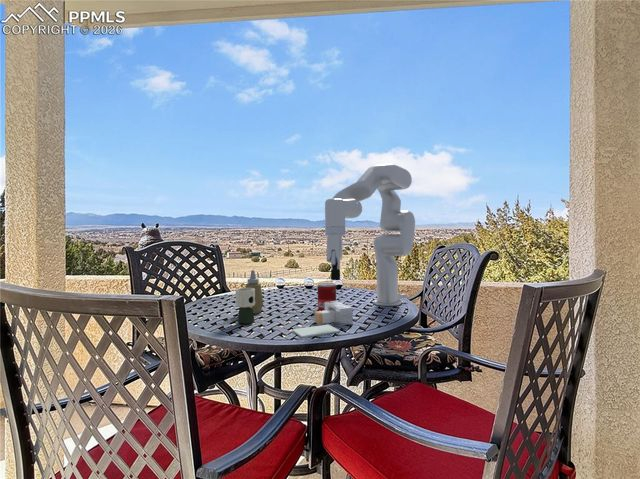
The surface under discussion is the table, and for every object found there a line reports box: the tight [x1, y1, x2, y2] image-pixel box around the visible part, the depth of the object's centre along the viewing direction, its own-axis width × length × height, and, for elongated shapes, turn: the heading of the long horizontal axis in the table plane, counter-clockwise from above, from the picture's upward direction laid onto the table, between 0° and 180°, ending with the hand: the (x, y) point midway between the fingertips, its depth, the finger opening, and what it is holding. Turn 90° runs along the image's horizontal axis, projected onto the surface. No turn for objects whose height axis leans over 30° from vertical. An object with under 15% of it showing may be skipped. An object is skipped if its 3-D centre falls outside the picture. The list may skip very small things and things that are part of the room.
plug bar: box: [314, 309, 336, 325], centre depth 147 cm, size 12×4×4 cm, turn 112°
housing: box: [324, 300, 354, 326], centre depth 147 cm, size 5×14×6 cm, turn 24°
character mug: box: [235, 287, 255, 325], centre depth 146 cm, size 11×7×13 cm, turn 171°
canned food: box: [317, 282, 337, 311], centre depth 167 cm, size 8×8×11 cm
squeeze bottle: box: [244, 269, 264, 315], centre depth 164 cm, size 8×8×18 cm
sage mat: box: [291, 323, 341, 339], centre depth 133 cm, size 14×9×1 cm, turn 114°
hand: (335, 279), depth 146 cm, fingers closed
